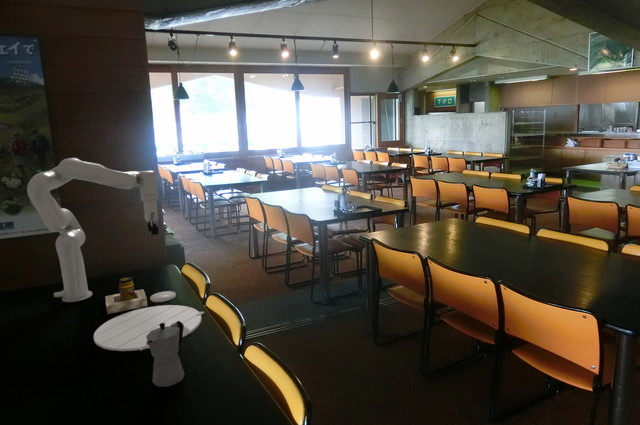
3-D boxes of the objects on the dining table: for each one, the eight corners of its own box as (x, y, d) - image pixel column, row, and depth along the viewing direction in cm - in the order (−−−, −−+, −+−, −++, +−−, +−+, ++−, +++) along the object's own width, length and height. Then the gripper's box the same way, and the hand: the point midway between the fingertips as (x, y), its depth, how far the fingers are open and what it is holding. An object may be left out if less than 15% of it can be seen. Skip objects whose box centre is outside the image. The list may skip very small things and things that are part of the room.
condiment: (138, 305, 200) (135, 279, 197) (118, 309, 195) (114, 283, 193) (135, 300, 206) (131, 275, 203) (114, 305, 201) (111, 279, 199)
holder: (107, 314, 191) (106, 306, 190) (106, 303, 203) (105, 296, 202) (147, 306, 198) (146, 298, 197) (144, 296, 210) (143, 289, 209)
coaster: (152, 304, 200) (151, 301, 200) (149, 296, 209) (148, 294, 209) (177, 298, 204) (177, 296, 204) (173, 291, 214) (173, 289, 214)
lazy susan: (223, 314, 185) (222, 306, 184) (151, 360, 150) (150, 350, 150) (150, 303, 202) (149, 296, 201) (70, 341, 167) (68, 333, 166)
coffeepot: (166, 393, 129) (159, 334, 126) (140, 388, 133) (133, 330, 130) (199, 366, 144) (193, 313, 140) (175, 362, 147) (169, 310, 144)
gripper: (138, 196, 219) (142, 230, 222) (143, 200, 204) (147, 237, 207) (155, 194, 222) (158, 228, 225) (161, 198, 207) (164, 234, 210)
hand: (153, 232), depth 216 cm, fingers open, 9 cm apart
